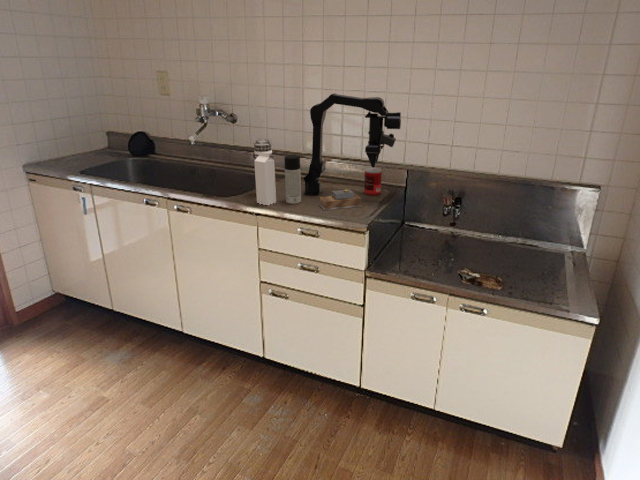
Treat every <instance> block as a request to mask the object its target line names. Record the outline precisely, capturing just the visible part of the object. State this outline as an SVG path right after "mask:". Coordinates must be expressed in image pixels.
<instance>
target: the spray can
mask: <svg viewBox="0 0 640 480" xmlns="http://www.w3.org/2000/svg"><path fill="white" fill-rule="evenodd" d="M301 177H302V176H301V156H300V155H297V154H289V155H285V157H284V180H285V181H284V183H285V186H284V187H285V201H286V203H287V204H291V205H292V204H293V205H296V204H300V203H301V202H302V189H301V188H302V186H301V185H302V183H301V181H302V180H301Z"/></svg>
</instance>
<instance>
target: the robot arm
mask: <svg viewBox="0 0 640 480" xmlns="http://www.w3.org/2000/svg"><path fill="white" fill-rule="evenodd" d="M333 105H340V106H341V105H342V106H348V107H353V108H361V109H363V110H366V111H368V112H367V114H365V116H364V118H366V119H367V118H369V124H368V125H369V128H368V142H367V145H366V146H365V147H364V152H365V154H366V156H367V158H368V159H367V160H368V161H369V163H370V167H371V168H376V163H378V161H379V157H380V154H381V152H382V150H383V149H384V147H385V145H386V146H388V147H389V148H394V145H395V142H396V140H397V139H396V137H395V135H394V134H393V133H389V134H385V131H384V127H385V128H386V130H401V126H402V116H401V115H402V113H401V112H400V111H399V112H398V111H397V112H389V110H388V109H387V108H386V106H385V101H384V99H383V98H382V97H380V96H376V97H375V96H374V97H370V96H369V97H357V96H351V95H345V94H344V95H343V94H337V93H335V92H334V93H331V94H330V95H328V97H326V98H325V99H324V100H323V101H321V102H320V103H317V104H315V105H313V106H312V107H310V110H309V115H310V120H311V124H312V145H311V147H312V150H311V151H312V152H311V153H312V154H311V155H312V156H311V160H310V164H309V167H308V173H307V174H306V175H305V176H304V177H303V180H304V192H303V194H304V195H306V196H318V195H320V193H321V192H322V183H321V180H320V179H319V178H320V177H322V175H323V174H324V172H325V171H326V160H323V157H322V156H323V155H322V153H323V132H324V131H323V129H324V127H323V126H324V122H325V119H326V114H327V111H328V110H329V109H330V108H331V107H333Z"/></svg>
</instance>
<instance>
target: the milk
mask: <svg viewBox="0 0 640 480" xmlns="http://www.w3.org/2000/svg"><path fill="white" fill-rule="evenodd" d="M272 158H273V157H272ZM272 158H270V157H269V153H263V152H259V156H258V157H257V158H256V159H255V160H254V159H253V165H254V164H255V166H254V168H255V169H254V176H255V177H254V178H255V180H256V182H255V193H256V204H257V203H259V204H258V205H261V204H263V205H262V206H265V205H268V206H270V204H271V205H274V204H276V203H277V192H276V190H277V189H276V168H275V158H273V159H272ZM273 203H274V204H273Z"/></svg>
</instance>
